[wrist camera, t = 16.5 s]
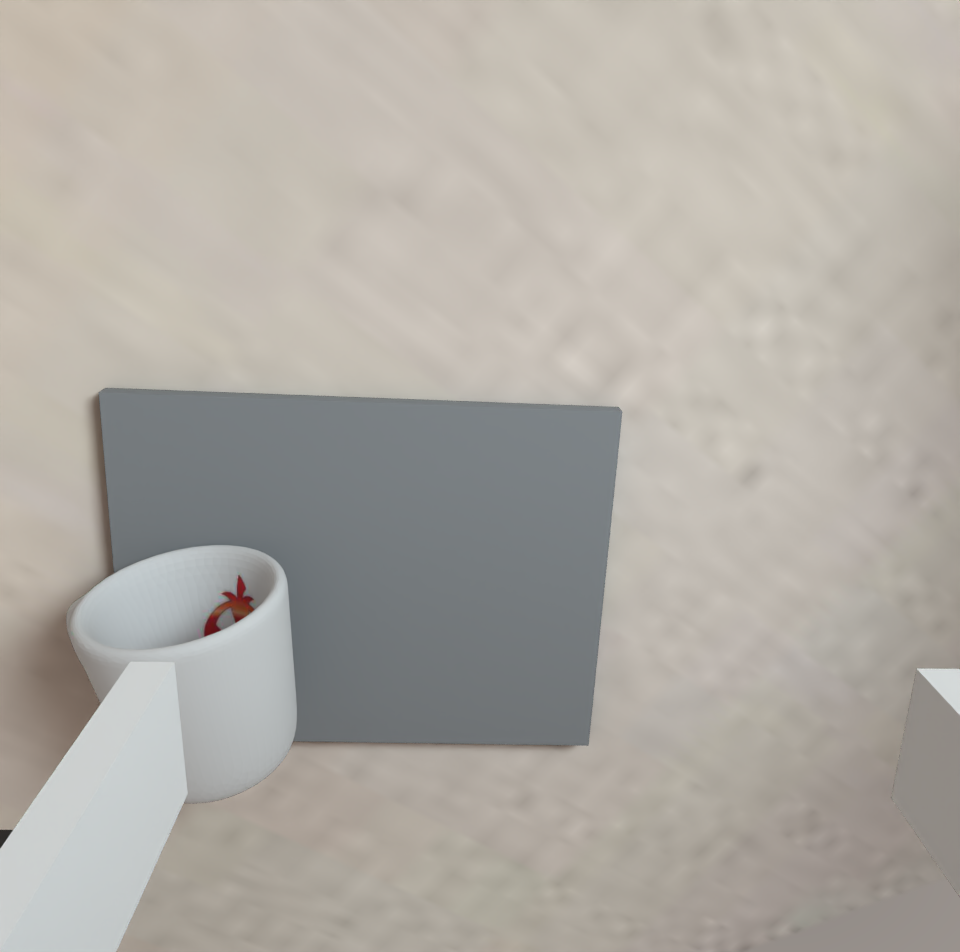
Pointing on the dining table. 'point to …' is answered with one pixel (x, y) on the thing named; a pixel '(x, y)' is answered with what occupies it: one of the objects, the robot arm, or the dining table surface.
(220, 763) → the cup
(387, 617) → the mat
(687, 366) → the dining table surface
